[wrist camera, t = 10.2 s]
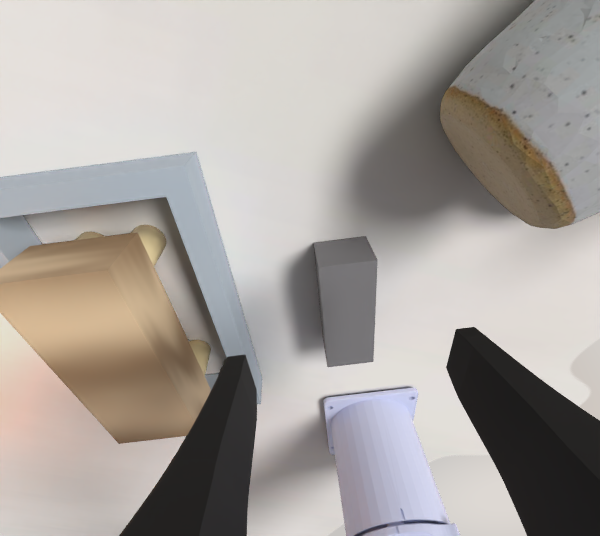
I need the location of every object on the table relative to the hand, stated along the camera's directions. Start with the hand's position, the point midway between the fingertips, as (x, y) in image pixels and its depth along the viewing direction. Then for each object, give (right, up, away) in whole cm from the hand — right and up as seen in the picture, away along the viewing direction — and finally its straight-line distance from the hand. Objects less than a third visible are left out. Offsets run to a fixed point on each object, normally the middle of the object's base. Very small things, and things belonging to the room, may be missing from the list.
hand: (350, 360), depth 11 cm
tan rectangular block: (-11, 0, +7) cm, 13 cm away
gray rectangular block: (+1, +2, +9) cm, 9 cm away
